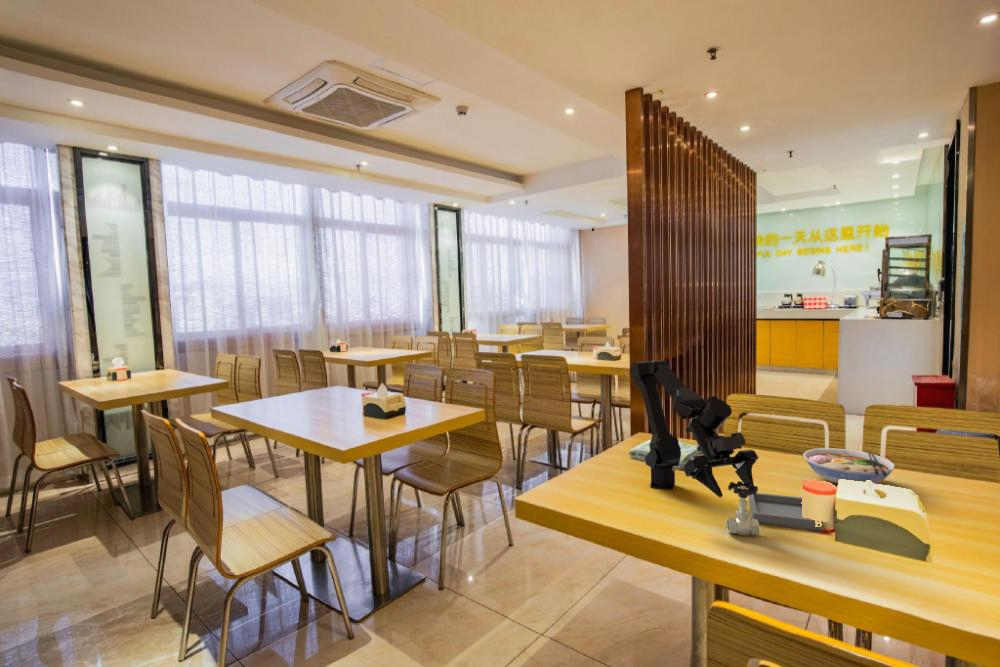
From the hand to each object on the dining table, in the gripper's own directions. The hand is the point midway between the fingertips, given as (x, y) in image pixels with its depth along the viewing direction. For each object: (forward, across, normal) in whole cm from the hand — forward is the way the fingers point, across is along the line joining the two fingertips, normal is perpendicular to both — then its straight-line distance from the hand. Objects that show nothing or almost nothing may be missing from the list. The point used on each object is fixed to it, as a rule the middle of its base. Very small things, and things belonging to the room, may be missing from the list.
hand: (737, 494), depth 124 cm
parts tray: (+4, +17, +9) cm, 20 cm away
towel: (-32, +17, +46) cm, 58 cm away
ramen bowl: (-5, +52, +18) cm, 56 cm away
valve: (+8, 0, +6) cm, 10 cm away
